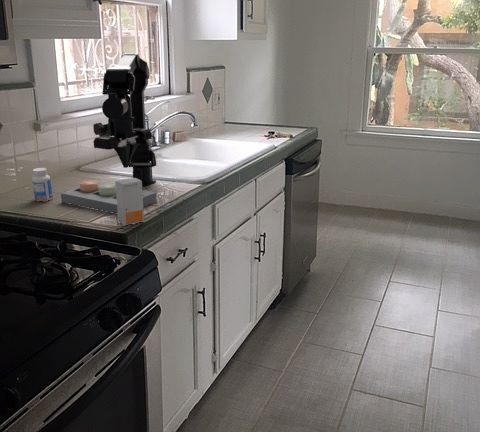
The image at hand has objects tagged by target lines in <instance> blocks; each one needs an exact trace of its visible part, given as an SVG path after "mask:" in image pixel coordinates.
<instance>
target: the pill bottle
mask: <svg viewBox="0 0 480 432" xmlns="http://www.w3.org/2000/svg"><path fill="white" fill-rule="evenodd" d="M32 174H33V176H32V177H31V183H32V189H33V194H34V200H35V201H36V202H39V201H43V202H49V201H51V200H52V199H54V195H53V188H52V182H51V177H50V175H48V171H47V168H46V167H35V168H33V169H32ZM48 200H49V201H48Z"/></svg>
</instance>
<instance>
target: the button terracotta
mask: <svg viewBox="0 0 480 432" xmlns="http://www.w3.org/2000/svg"><path fill="white" fill-rule="evenodd" d="M98 182H99V181H96V180H84V181H81V182H80V183H79V187H80V192H84V193H89V194H90V193H93V192H96V191H99V189H98Z"/></svg>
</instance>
